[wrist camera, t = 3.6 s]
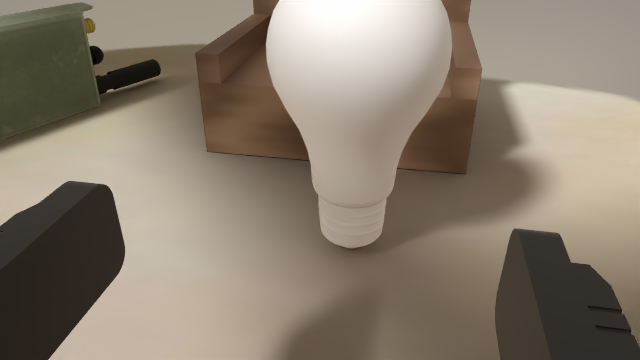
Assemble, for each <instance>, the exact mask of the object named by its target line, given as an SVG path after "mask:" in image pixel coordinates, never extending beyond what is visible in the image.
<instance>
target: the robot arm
mask: <svg viewBox="0 0 640 360" xmlns="http://www.w3.org/2000/svg"><path fill="white" fill-rule="evenodd" d="M124 257H125V245H124V240H123V236H122V231H121V227H120V223H119V219H118V214H117V210H116V206H115V201H114V197H113V194H112V191H111V190H110V188H109V187H108V186H106V185H104V184H95V183H85V182H75V181H68V182H66V183H64V184H63V185H61V186H60V187H59V188H57V189H56V190H55V191H54V192H52V193H51V194H50V195H49V196H47V197H46V198H45V199H44V200H42V201H41V202H40V203H38V204H36V205H34V206H32V207H30V208H28V209H26V210H24V211H21V212H19V213H17V214H15V215H14V216H13V217H11V218H10V219H9V220H8V221H6V222H5V223H4V224H2V225H1V226H0V360H48V359H49V358H50V357H51V355H52V354H53V353H54V352H55V351H56V349H57V348H58V347H59V346H60V345H61V343H62V342H63V341H64V340H65V338H66V337H67V336H68V335H69V334H70V332H71V331H72V330H73V329H74V327H75V326H76V325H77V324H78V323H79V321H80V320H81V319H82V318H83V316H84V315H85V314H86V313H87V312H88V310H89V309H90V308H91V307H92V305H93V304H94V303H95V302H96V301H97V299H98V298H99V297H100V296H101V294H102V293H103V292H104V291H105V290H106V288H107V287H108V286H109V285H110V283H111V282H112V281H113V280H114V279H115V277H116V276H117V275H118V273H119V272H120V270H121V268H122V265H123V262H124ZM495 323H496V332H497V338H498V345H499V352H500V358H501V360H640V348H639V346H638V343H637V341H636V339H635V337H634V335H631V328H630V326H629V324H628V322H627V320H626V317H625V315H623V314H622V309H621V306H620V304H619V302H618V300H617V298H616V296H615V293H614V291H613V289H612V287H611V286H610V285H609V284H608V283H607V282H606V281H605V280H604V279H603V278H602V277H601V276H600V275H599V274H598V273H597V272H596V271H595V270H594V269H593V268H592V267H591V266H590V265H587V264H578V263H571V262H570V259H569V256H568V254H567V251H566V248H565V246H564V243H563V240H562V238H561V236H560V234H558V233H553V232H544V231H534V230H524V229H514V230H513V231H512V233H511V236H510V240H509V244H508V248H507V253H506V257H505V261H504V266H503V270H502V274H501V279H500V283H499V287H498V292H497V297H496V307H495Z"/></svg>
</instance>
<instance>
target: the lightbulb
mask: <svg viewBox="0 0 640 360" xmlns="http://www.w3.org/2000/svg"><path fill="white" fill-rule="evenodd" d="M451 53H452V37H451V27H450V23H449V19H448V15H447V12H446V10H445V7H444V5H443V3H442V1H441V0H279V2H278V3H277V5H276V7H275V9H274V10H273V14H272V17H271V20H270V23H269V27H268V33H267V40H266V56H267V65H268V68H269V72H270V76H271V79H272V83H273V86H274V88H275V90H276V92H277V93H278V95H279V97H280V99H281V101H282V103H283V105H284V107H285V108H286V110H287V112H288V113H289V115H290V116H291V118H292V119H293V121H294V123H295V124H296V126H297V127H298V129H299V131H300V133H301V135H302V138H303V140H304V143H305V145H306V148H307V151H308V155H309V160H310V164H311V175H312V184H313V187H314V190H315V191H316V193H317V194H318V198H319V202H318V207H319V218H320V228H321V232H322V234H323V235H324V236H325V237H326V238H327V239H328V240H329V241H331V242H332V243H334V244H336V245H339V246H343V247H346V248H357V247H362V246H366V245H368V244H371V243H372V242H374V241H375V240H376V239H377V238H378V237H379V236H380V235H381V233H382V228H383V223H384V215H385V207H386V203H387V200H386V199H387V197H388V196H389V195H390V193H391V192H392V190H393V187H394V182H395V176H396V169H397V166H398V163H399V159H400V156H401V153H402V151H403V149H404V147H405V145H406V143H407V141H408V139H409V137H410V135H411V133H412V132H413V130H414V129H415V128H416V126H417V125H418V124H419V122H420V121H421V120H422V118H423V117H424V116H425V114H426V113H427V112H428V110H429V108H430V107H431V105H432V104H433V102H434V101H435V99H436V97H437V96H438V94H439V93H440V91H441V90H442V88H443V85H444V82H445V80H446V77H447V74H448V71H449V69H450V61H451Z"/></svg>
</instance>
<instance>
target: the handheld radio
mask: <svg viewBox="0 0 640 360" xmlns="http://www.w3.org/2000/svg"><path fill="white" fill-rule="evenodd" d="M92 7H93V6H91V5H88V4H85V3H75V4H67V5H62V6H56V7H50V8H44V9H38V10H33V11H26V12H21V13H15V14H9V15H3V16H0V140H3V139H6V138H9V137H12V136H14V135H17V134H20V133H23V132H26V131H29V130H32V129H35V128H38V127H40V126H43V125H46V124H49V123H52V122H55V121H58V120H61V119H64V118H67V117H69V116H72V115H75V114H78V113H81V112H84V111H87V110H90V109H93V108H95V107H98V106H100V105H101V102H100V97H99V95H101V94H104V93H106V92H107V90H110V89H114V90H115V89H118V88H122V87H125V86H128V85H131V84H134V83H137V82H140V81H143V80H146V79H149V78H153V77H156V76H159V75H160V72H161V69H160V66H159V64H158V62H157V61H156V60H154V59H151V60H148V61H145V62H141V63H138V64H135V65H131V66H128V67H124V68H121V69H118V70H114V71H111V72H108V73H107V75H104V76H99V75H97V76H95V72H94V67H93V66H94V65H95V64H99V63H100V62H102V60H103V57H104V55H103V52H102V50H101V49H100V48H98V47H96V46H89V43H88V37H87V33H92V32H94V31H95V24H94V22H93V20H92V19H89V18H86V19H84V17H83V12H84V11H87V10H90V9H92Z"/></svg>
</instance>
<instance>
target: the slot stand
mask: <svg viewBox="0 0 640 360" xmlns="http://www.w3.org/2000/svg"><path fill="white" fill-rule="evenodd" d="M441 1H442V3H443V5H444V7H445V10H446V12H447V15H448V19H449V23H450V27H451V37H452V53H451V61H450V69H449V71H448V74H447V77H446V80H445V82H444V85H443V88H442V90H441V91H440V93H439V94H438V96H437V97H436V99H435V101H434V102H433V104H432V105H431V107H430V108H429V110H428V112H427V113H426V114H425V116H424V117H423V118H422V120H421V121H420V122H419V124H418V125H417V126H416V128H415V129H414V130H413V132H412V133H411V135H410V137H409V139H408V141H407V143H406V145H405V147H404V149H403V151H402V153H401V156H400V159H399V163H398V166H397V168H404V169H416V170H427V171H439V172H450V173H462V174H465V172H466V166H467V160H468V154H469V148H470V141H471V135H472V129H473V123H474V117H475V110H476V104H477V98H478V92H479V86H480V79H481V73H482V67H481V64H480V61H479V57H478V54H477V50H476V47H475V44H474V41H473V38H472V34H471V31H470V28H469V24H468V18H469V11H470V4H471V0H441ZM278 2H279V0H253V4H254V5H253V6H254V14H253V15H251V16H250V17H249V18H247V19H245V20H244V21H243V22H241V23H240V24H238V25H237V26H235V27H234V28H232V29H231V30H229V31H228V32H226V33H225V34H223V35H222V36H220V37H219V38H217V39H216V40H214V41H213V42H211V43H210V44H208V45H207V46H206V47H204V48H203V49H201V50H200V51H198V52H197V53H195V54H196V63H197V71H198V79H199V88H200V96H201V104H202V113H203V121H204V130H205V138H206V146H207V151H209V152H220V153H232V154H243V155H255V156H266V157H278V158H289V159H301V160H309V155H308V151H307V148H306V145H305V143H304V140H303V138H302V135H301V133H300V131H299V129H298V127H297V126H296V124H295V123H294V121H293V119H292V118H291V116H290V115H289V113H288V112H287V110H286V108H285V107H284V105H283V103H282V101H281V99H280V97H279V95H278V93H277V92H276V90H275V88H274V86H273V83H272V79H271V76H270V72H269V68H268V65H267V56H266V40H267V33H268V27H269V23H270V20H271V17H272V14H273V10H274V9H275V7H276V5H277V3H278Z"/></svg>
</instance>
